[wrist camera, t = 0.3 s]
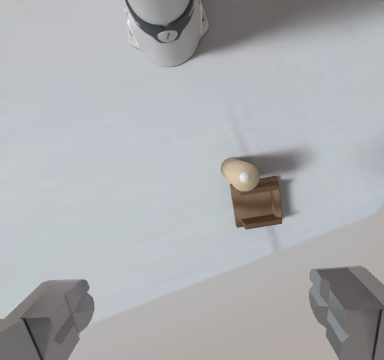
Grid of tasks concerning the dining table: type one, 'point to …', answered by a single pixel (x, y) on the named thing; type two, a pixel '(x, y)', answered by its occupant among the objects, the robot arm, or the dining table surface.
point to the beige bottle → (240, 174)
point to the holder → (257, 204)
